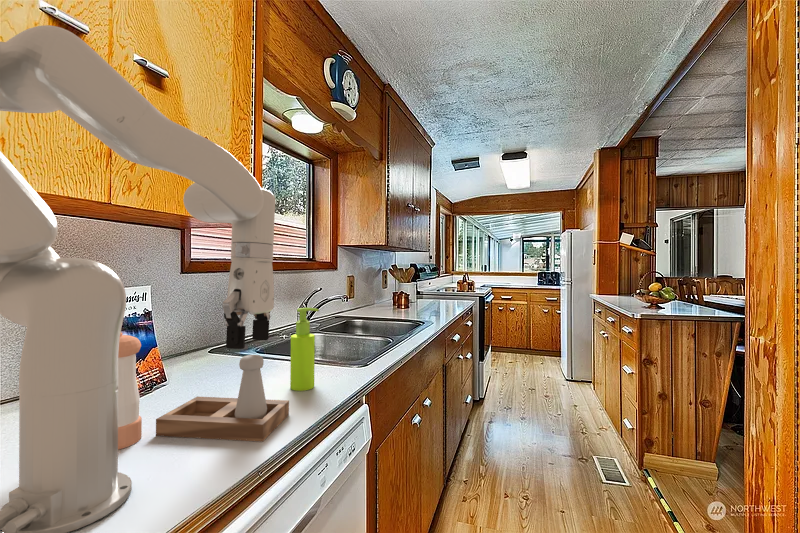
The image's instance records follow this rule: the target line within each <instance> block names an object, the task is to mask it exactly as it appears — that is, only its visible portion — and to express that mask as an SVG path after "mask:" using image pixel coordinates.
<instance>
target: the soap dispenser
mask: <svg viewBox="0 0 800 533" xmlns="http://www.w3.org/2000/svg"><path fill="white" fill-rule="evenodd" d="M296 311H297V312H299V320H297V321H296V322H295V334H292V335H290V370H289V371H290V381H289V382H290V383H289V384H290V385H289V386H290V390H291V391H297V392H298V391H299V392H303V391H310V390H311V389H314V388H315V361H316V360H315V359H316V357H315V353H316V351H315V349H316V348H315V342H316V340H315V338H316V335H315V334H314V333H311V331H310V330H311V326H310V325H311V324H310V323H311V322H310V320H308V319H307V312H310V311H311V312H319V311H320V309H319V308H315V307H301V308H297V309H296Z"/></svg>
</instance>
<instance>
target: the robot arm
mask: <svg viewBox="0 0 800 533" xmlns="http://www.w3.org/2000/svg"><path fill="white" fill-rule="evenodd" d="M0 111H1V112H10V113H11V112H12V113H13V112H14V113H24V114H25V113H26V114H47V113H50V114H51V113H54V112H57V111H61V112H62V113H64V115H66V116H67V117H69V119H71V120H73V121H74V122H75V123H77V124H78V125H79V126H80V127H82V128H83V129H85V130H86V131H87V132H89V133H90V134H91V135H93V136H94V137H95V138H96V139H98V140H99V141H100V142H101V143H103V144H104V145H105V146H106V147H108V148H109V149H110V150H112V151H113V152H114V153H116V154H117V155H118V156H120V157H121V158H123V159H124V160H126V161H128V162H131V163H134V164H137V165H140V166H144V167H147V168H150V169H155V170H161V171H165V172H169V173H172V174H175V175H178V176H180V177H183V178H185V179H187V180H190V181H192V182H194V183H192V184H190V185H189V186H188V187H187V189H186V190H185V192H184V194H183V198H182V199H183V205H184V208H185V210H186V211H187V213H189V215H190V216H191V217H193V218H194V219H196V220H198V221H200V222H204V223H211V224H214V223H215V224H216V223H219V224H220V223H221V224H222V223H223V224H231V241H230V242H231V245H230V261H231V264H230V269H229V276H228V277H229V278H228V284H227V286H228V287H227V298H226V299H225V300H223V301H222V309H223V318H224V319H225V324H224V325H225V327H226V334H225V335H226V338H225V348H226V349H231V350H242V349H244V348H245V346H246V325H244V324H245V321H246V320H247V317H248V314H249V315H253V316H254V319H253V320H252V340H254V341H268V340H269V338H270V319H271V314H270V313H271V311H273V309H274V307H275V306H274V305H275V301H274V300H275V291H274V290H275V287H274V286H275V285H274V280H275V279H274V270H273V268H274V267H273V262H274V260H273V259H274V241H275V240H274V239H275V237H274V236H275V214H276V212H275V211H276V197H275V195H274V194H273V193H272V191H270V190H267V189H265V188H262V187H261V186H260V184H259V182H258V181H257V179H256V178H255V177H254V175H253V174H252V173H251V172H250V171H249V170H248V169H247V168H246V167H245V166H244V165H243V164H242V162H240V161H239V160H238V159H237V158H236V157H235V156H234V155H232V153H230V152H229V151H228V150H226V149H224V148H223V147H222V146H221V145H219V144H217V143H215V142H213V141H212V140H210V139H209V138H207V137H204V136H203V135H200V134H199V133H197V132H195V131H193V130H191V129H189V128H187V127H185V126H183V125H181V124H179V123H177V122H175V121H173V120H171V119H170V118H168V117H167V116H165V114H163V113H162V112H161V111H160V110H159V109H158V108H156V106H154V105H153V104H152V103H151V102H150V101H149V100H148V99H147V98H146V97H144V95H142V93H141V92H140V91H138V90H137V88H135V87H134V86H133V84H131V83H130V82H128V80H126V79H125V78H124V77H123V76H122V75H121V73H119V72H118V71H117V70H116V69H115V68H114V67H113V66H111V65H110V63H108V62H107V61H106V60H105V59H104V58H103V57H102V56H100V54H98V52H97V51H95V50H94V48H92V47H91V46H90V45H89V44H88V43H86V42H85V41H84V40H83V39H82V38H81V37H79V36H78V35H76V34H74V32H71V31H70V30H68V29H65V28H63V27H60V26H57V25H56V26H55V25H50V24H49V25H46V24H45V25H37V26H33V27H30V28H27V29H25V30H23V31H21V32H19V33H17V34H16V35H13V37H11V38H10V39H8V40H7V41H0ZM58 231H59V228H58V221H57V218H56V216H55V214H54V213H53V211H52V209H51V208H50V206H49V205H48V204H47V202H45V200H44V199H43V198H42V197H41V196H40V195H39V194H38V192H37V191H36V190H35V189H34V188H33V186H31V184H29V182H28V181H27V180H26V179H25V178H24V176H23V175H22V174H21V173H20V172H19V171H18V170H17V168H16V167H15V166H14V165H13V163H12V162H10V160H9V159H8V158H7V157H6V156H5V154H3V152H2V151H1V150H0V316H2V317H3V318H5V319H7V321H10V322H12V323H14V324H16V325H20V326H23V327H26V331H25V338H24V341H23V345H22V350H21V354H20V355H21V356H20V361H19V374H18V376H19V377H18V396H19V401H18V402H19V404H18V405H19V406H18V407H19V411H18V418H19V420H18V422H19V424H18V428H19V429H18V430H19V431H18V432H19V433H18V435H19V436H18V438H19V439H18V442H19V443H18V456H19V457H18V478H19V479H18V487H17V488H14V489H13V490H11V491H9V492H8V502H7V503H5V504H4V505H3V506H2V507H1V509H0V530H2V532H4V533H70V532H72V531H76V530H78V529H81V528H83V527H86V526H88V525H90V524H91V525H92V524H93V523H95V522H97V521H98V520H99V521H100V520H101V519H104V517H106V516H108V515H109V514H111V513H112V512H114V511H115V510H117V509H118V508H119V507H121V506H122V505H123V504H124V502H126V500H127V499H128V498H129V496H130V495H131V492H132V488H133V486H132V484H133V482H132V479H131V477H130V476H129V475H127V474H125V473H123V472H119V471H118V470H119V468H118V467H119V464H118V462H119V461H118V460H119V456H118V455H119V450H118V352H119V340H120V333H121V332H122V329H123V328H122V326H123V322H124V318H125V312H126V306H127V294H126V289H125V285H124V283H123V281H122V280H121V278H120V277H119V276H118V274H117V273H116V272H115V271H114V270H112V268H110V267H108V266H107V265H105V264H103V263H101V262H98V261H95V260H92V259H88V258H81V257H80V258H79V257H60V256H59V255H58V254H57V253H56V252H55V250H54V249H53V248H52V247H51V246H52V245H53V244H54V243H55V242H56V239H57V237H58Z"/></svg>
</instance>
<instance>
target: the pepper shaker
mask: <svg viewBox="0 0 800 533" xmlns="http://www.w3.org/2000/svg"><path fill="white" fill-rule="evenodd" d="M141 347H142V343H141V341H140V339H139V338H138V337H136V336H132V335H129V334H124V333H123V332H122V331H121V333H120V340H119V352H118V451H119V450H122V449H125V448H128V447H130V446H133V445H134V444H136V443H138V442H139V441H140V440H141V439H142V434H143V432H142V430H143V429H142V426H143V425H142V420H143V419H142V416H141V415H140V402H141V401H140V400H141V399H140V392H139V387H138V381H137V373H136V372H137V357H136V356H137V354H138V353H140V350H141Z"/></svg>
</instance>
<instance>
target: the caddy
mask: <svg viewBox="0 0 800 533" xmlns="http://www.w3.org/2000/svg"><path fill="white" fill-rule="evenodd" d="M237 400H238V397H236V398H235V397H219V396H217V397H216V396H214V397H213V396H196V397H194V398H192V399H190V400H188V401H187V402H185V403H183V404H181V405H179V406H177V407H176V408H173V409H172V410H170V411H169V412H166V413H165V414H162V415H161V416H159V417H158V418H156V419H155V436H156V437H171V438H187V439H191V438H192V439H207V440H224V441H225V440H226V441H246V442H259V443H260V442H261V443H263V442H264V441H265V440H266V439H267V438H268V437H269V436H270V435H271V434H272V433H273V432H274V431H275V430H276V429H277V428H278V427H279V426H280V424H282V423H283V422H284V421H285V420H286V419H287V418H288V417H289V416H290V400H288V399H287V400H283V399H282V400H281V399H266V405H267V413H266V415H265V417H264V418H263V419H249V418H236V417H235V409H236V404H237Z"/></svg>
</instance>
